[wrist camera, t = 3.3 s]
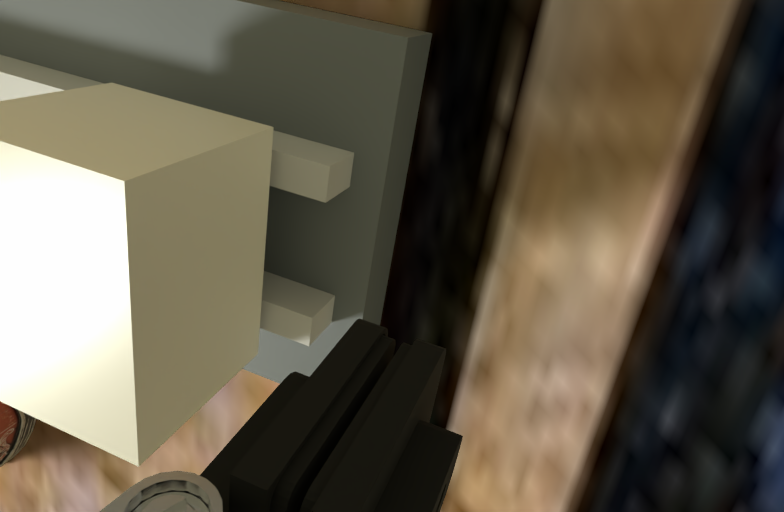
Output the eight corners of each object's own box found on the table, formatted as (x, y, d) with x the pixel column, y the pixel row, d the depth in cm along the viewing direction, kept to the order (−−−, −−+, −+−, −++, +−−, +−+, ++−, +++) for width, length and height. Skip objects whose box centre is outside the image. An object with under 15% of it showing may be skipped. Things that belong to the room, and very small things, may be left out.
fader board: (432, 33, 16) (386, 41, 13) (370, 377, 22) (327, 439, 19) (-204, -103, 23) (-332, -118, 20) (-129, 188, 28) (-220, 211, 25)
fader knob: (302, 116, 16) (124, 181, 10) (283, 329, 19) (138, 466, 14) (150, 76, 17) (-81, 114, 12) (156, 282, 20) (-24, 389, 15)
